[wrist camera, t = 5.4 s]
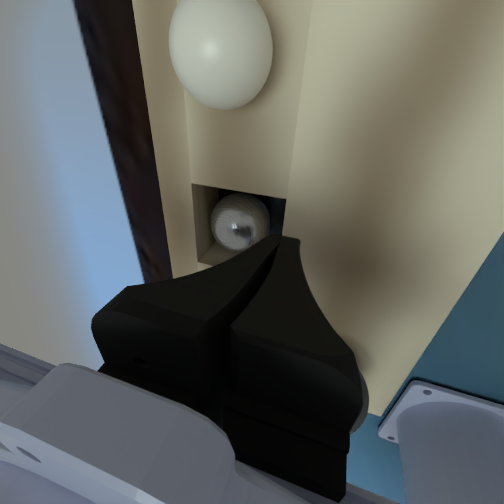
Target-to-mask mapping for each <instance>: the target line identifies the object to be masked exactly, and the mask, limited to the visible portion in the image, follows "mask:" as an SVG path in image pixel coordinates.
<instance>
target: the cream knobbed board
mask: <svg viewBox="0 0 504 504" xmlns="http://www.w3.org/2000/svg"><path fill="white" fill-rule="evenodd" d="M179 1H180V0H132V3H133V10H134V17H135V23H136V30H137V37H138V44H139V50H140V57H141V64H142V70H143V77H144V84H145V91H146V97H147V104H148V111H149V118H150V124H151V131H152V138H153V145H154V151H155V158H156V165H157V172H158V178H159V185H160V192H161V199H162V205H163V212H164V219H165V226H166V232H167V239H168V246H169V253H170V259H171V266H172V273H173V279H174V278H178V277H182V276H186V275H189V274H192V273H195V272H198V271H201V270H204V269H207V268H210V267H213V266H215V265H217V264H220V263H222V262H224V261H226V260H228V259H230V258H232V257H234V256H236V255H238V254H239V253H237V252H232V251H229V250H227V249H225V248H224V247H222V246H221V245H220V244H219V243H218V242H217V240H216V239H215V237H214V235H213V233H212V230H211V216H212V212H213V210H214V208H215V206H216V205H217V203H218V202H219V192H218V188H223V189H229V190H235V191H241V192H247V193H253V194H259V195H265V196H271V197H277V198H283V199H287V200H286V208H285V216H284V223H283V231H282V236H287V237H292V238H297V239H299V240H300V241H301V243H300V257H301V262H302V267H303V270H304V274H305V277H306V280H307V283H308V285H309V288H310V290H311V292H312V294H313V296H314V298H315V300H316V302H317V304H318V306H319V307H320V309H321V311H322V312H323V314H324V315H325V317H326V319H327V320H328V322H329V323H330V324H331V326H332V327H333V329H334V330H335V331H336V332H337V334H338V335H339V336H340V337H341V338H342V339H343V340H344V342H345V343H346V344H347V345H348V346H349V347H350V348H351V350H352V351H353V352H354V355H355V358H356V362H357V365H358V369H359V370H360V372H361V374H362V375H363V377H364V379H365V381H366V384H367V388H368V392H369V407H368V413H371V414H374V415H377V416H380V417H381V415H382V414H383V412H384V411H385V409H386V408H387V406H388V405H389V403H390V402H391V400H392V399H393V397H394V396H395V394H396V393H397V391H398V390H399V388H400V387H401V385H402V384H403V382H404V381H405V379H406V378H407V376H408V375H409V373H410V372H411V370H412V369H413V367H414V366H415V364H416V363H417V361H418V360H419V358H420V357H421V355H422V354H423V352H424V351H425V349H426V348H427V346H428V345H429V343H430V342H431V340H432V339H433V337H434V336H435V334H436V333H437V331H438V330H439V328H440V327H441V325H442V324H443V322H444V321H445V319H446V318H447V316H448V314H449V313H450V311H451V310H452V308H453V307H454V305H455V304H456V302H457V301H458V299H459V298H460V296H461V295H462V293H463V292H464V290H465V289H466V287H467V286H468V284H469V283H470V281H471V280H472V278H473V277H474V275H475V274H476V272H477V271H478V269H479V268H480V266H481V265H482V263H483V262H484V260H485V259H486V257H487V256H488V254H489V253H490V251H491V250H492V248H493V247H494V245H495V244H496V242H497V241H498V239H499V238H500V236H501V235H502V233H503V232H504V0H256V1H257V2H258V3H259V5H260V6H261V8H262V10H263V11H264V13H265V15H266V18H267V20H268V23H269V27H270V30H271V36H272V44H273V55H272V63H271V68H270V72H269V74H268V77H267V80H266V82H265V84H264V85H263V87H262V89H261V90H260V91H259V93H258V94H257V95H256V96H255V97H254V98H253V99H252V100H251V101H250V102H248V103H247V104H245V105H243V106H241V107H238V108H235V109H231V110H218V109H213V108H210V107H207V106H205V105H203V104H201V103H200V102H198V101H197V100H196V99H194V98H193V97H192V96H191V95H190V94H189V93H188V92H187V91H186V90H185V88H184V87H183V85H182V84H181V82H180V81H179V79H178V77H177V75H176V73H175V70H174V68H173V65H172V61H171V57H170V51H169V28H170V23H171V19H172V15H173V13H174V10H175V8H176V6H177V4H178V2H179Z"/></svg>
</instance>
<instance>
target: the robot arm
mask: <svg viewBox="0 0 504 504" xmlns="http://www.w3.org/2000/svg"><path fill="white" fill-rule="evenodd" d="M300 243H301V241H300V240H299V239H297V238H292V237H287V236H282V235H277V234H272V233H271V234H269V235H267V236H266V237H264V238H263V239H261V240H260V241H259V242H257V243H256V244H254V245H253V246H251V247H249V248H248V249H246V250H245V251H243V252H241V253H239V254H238V255H236V256H234V257H232V258H230V259H228V260H226V261H224V262H222V263H220V264H217V265H215V266H213V267H210V268H207V269H204V270H201V271H198V272H195V273H192V274H189V275H186V276H182V277H178V278H174V279H169V280H165V281H159V282H154V283H147V284H141V285H133V286H127V287H126V288H124V290H122V291H121V292H120V293H119V294H118V295H116V296H115V297H114V298H113V299H112V300H111V301H110V302H109V303H107V304H106V305H105V306H104V307H103V308H102V309H101V310H100V311H99V312H98V313H96V314H95V315H94V317H93V318H92V323H91V330H92V333H93V337H94V339H95V341H96V344H97V346H98V348H99V351H100V353H101V355H102V357H103V360H104V362H105V363H104V364H103V365H102V366H101V367H100V369H99V370H98V371H95V370H92V369H90V368H87V367H85V366H80V365H76V364H71V363H63V364H59V365H58V366H55V365H52V364H50V363H47V362H45V361H42V360H40V359H37V358H35V357H32V356H30V355H27V354H25V353H22V352H20V351H17V350H15V349H13V348H10V347H7V346H5V345H3V344H0V504H399V503H397V502H394V501H392V500H389V499H387V498H384V497H382V496H379V495H377V494H374V493H372V492H369V491H367V490H364V489H362V488H359V487H357V486H354V485H352V484H349V483H347V482H346V460H347V454H348V453H349V448H350V431H351V429H352V427H353V426H354V424H355V422H356V420H357V419H358V417H359V415H360V413H361V411H362V407H363V391H362V384H361V379H360V374H359V369H358V365H357V362H356V358H355V355H354V352H353V351H352V350H351V348H350V347H349V346H348V345H347V344H346V343H345V342H344V340H343V339H342V338H341V337H340V336H339V335H338V334H337V332H336V331H335V330H334V329H333V327H332V326H331V324H330V323H329V322H328V320H327V319H326V317H325V315H324V314H323V312H322V311H321V309H320V307H319V306H318V304H317V302H316V300H315V298H314V296H313V294H312V292H311V290H310V288H309V285H308V283H307V280H306V277H305V274H304V270H303V267H302V262H301V257H300ZM222 428H223V430H222ZM378 435H379V436H380V437H381V438H383V439H386V440H389V441H392V442H394V443H397V444H399V450H400V457H401V465H402V473H403V480H404V488H405V495H406V503H407V504H504V405H501V404H497V403H494V402H490V401H487V400H484V399H480V398H477V397H474V396H470V395H467V394H463V393H460V392H457V391H453V390H450V389H446V388H443V387H440V386H436V385H433V384H429V383H426V382H423V381H418V380H415V381H412V382H411V383H410V384H409V385H408V387H407V388H406V390H405V391H404V392H403V394H402V395H401V397H400V398H399V400H398V401H397V403H396V404H395V405H394V407H393V408H392V410H391V411H390V413H389V414H388V416H387V417H386V418H385V420H384V421H383V423H382V424H381V426H380V427H379V429H378Z"/></svg>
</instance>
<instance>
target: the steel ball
mask: <svg viewBox="0 0 504 504" xmlns="http://www.w3.org/2000/svg"><path fill="white" fill-rule="evenodd" d="M270 224H271V221H270V215H269V212H268V209H267V208H266V206H265V205H264V203H263V202H262V201H261V200H260V199H258V198H257V197H255V196H253V195H251V194H247V193H234V194H230V195H228V196H226V197H224V198H223V199H221V200H220V201H219V202H218V203H217V205H216V206H215V208H214V210H213V212H212V216H211V230H212V233H213V235H214V237H215V239H216V240H217V242H218V243H219V244H220V245H221V246H222V247H224V248H225V249H227V250H229V251H232V252H237V253H241V252H243V251H245V250H246V249H248V248H249V247H251V246H253V245H254V244H256V243H257V242H259V241H260V240H261V239H263V238H264V237H266V236H267V235H268V234H269V231H270Z"/></svg>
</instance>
